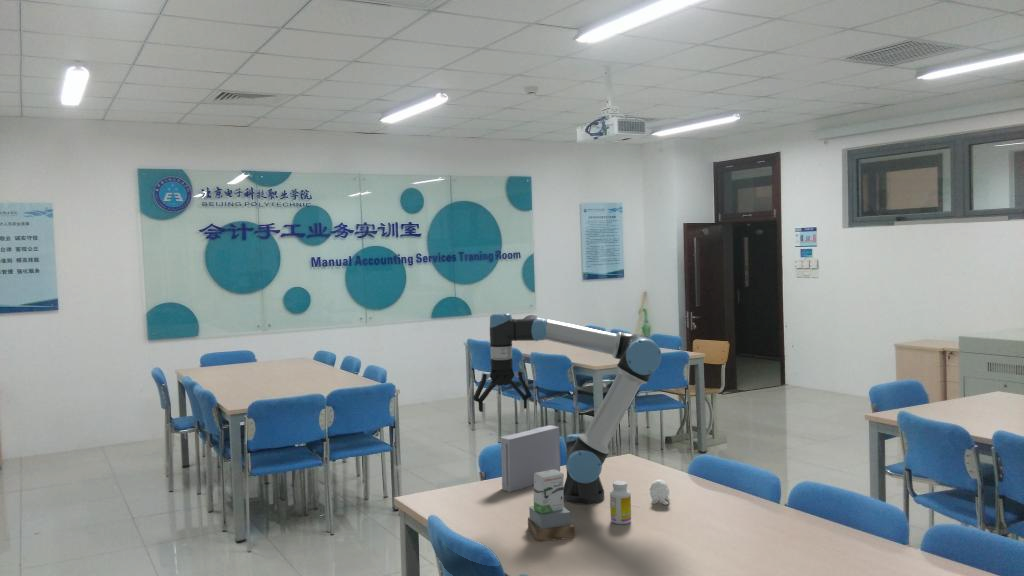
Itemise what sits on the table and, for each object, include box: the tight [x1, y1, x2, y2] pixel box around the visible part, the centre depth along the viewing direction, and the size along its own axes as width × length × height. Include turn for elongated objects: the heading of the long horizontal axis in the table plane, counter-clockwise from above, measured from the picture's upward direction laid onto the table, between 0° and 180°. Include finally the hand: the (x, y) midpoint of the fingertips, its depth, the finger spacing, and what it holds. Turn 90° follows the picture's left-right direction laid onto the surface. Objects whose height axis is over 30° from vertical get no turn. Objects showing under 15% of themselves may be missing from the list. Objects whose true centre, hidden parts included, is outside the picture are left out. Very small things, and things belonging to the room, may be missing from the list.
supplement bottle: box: [609, 480, 632, 525], centre depth 249 cm, size 7×7×13 cm
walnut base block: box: [527, 516, 575, 542], centre depth 241 cm, size 12×12×4 cm
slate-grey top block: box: [528, 505, 572, 529], centre depth 241 cm, size 10×10×4 cm
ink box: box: [533, 470, 564, 514], centre depth 240 cm, size 9×5×12 cm, turn 123°
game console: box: [500, 424, 561, 493], centre depth 294 cm, size 6×27×20 cm, turn 133°
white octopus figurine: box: [649, 479, 671, 506], centre depth 269 cm, size 6×8×12 cm
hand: (503, 419), depth 262 cm, fingers open, 13 cm apart
